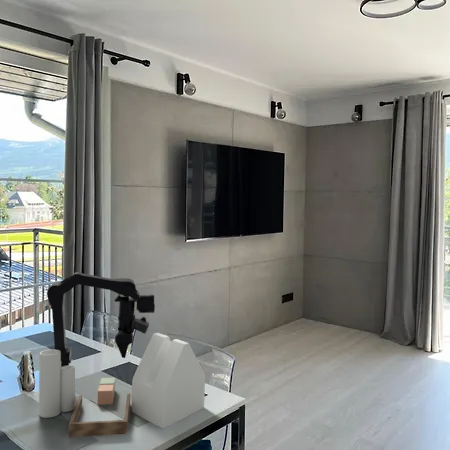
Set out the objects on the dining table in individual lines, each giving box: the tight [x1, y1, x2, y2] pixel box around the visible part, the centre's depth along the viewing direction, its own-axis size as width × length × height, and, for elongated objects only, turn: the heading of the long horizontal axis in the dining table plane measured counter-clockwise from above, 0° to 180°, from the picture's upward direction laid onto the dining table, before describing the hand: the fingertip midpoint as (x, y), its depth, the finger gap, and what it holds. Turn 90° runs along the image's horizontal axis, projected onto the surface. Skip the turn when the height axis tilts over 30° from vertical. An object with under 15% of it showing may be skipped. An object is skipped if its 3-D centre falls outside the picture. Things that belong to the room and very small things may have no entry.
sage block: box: [99, 377, 116, 394], centre depth 161 cm, size 5×5×5 cm
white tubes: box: [38, 349, 76, 419], centre depth 147 cm, size 11×7×20 cm, turn 140°
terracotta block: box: [97, 384, 115, 406], centre depth 155 cm, size 5×5×5 cm
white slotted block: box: [131, 332, 206, 429], centre depth 150 cm, size 19×15×25 cm
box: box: [68, 393, 131, 438], centre depth 143 cm, size 17×19×4 cm
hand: (124, 353), depth 168 cm, fingers open, 9 cm apart
